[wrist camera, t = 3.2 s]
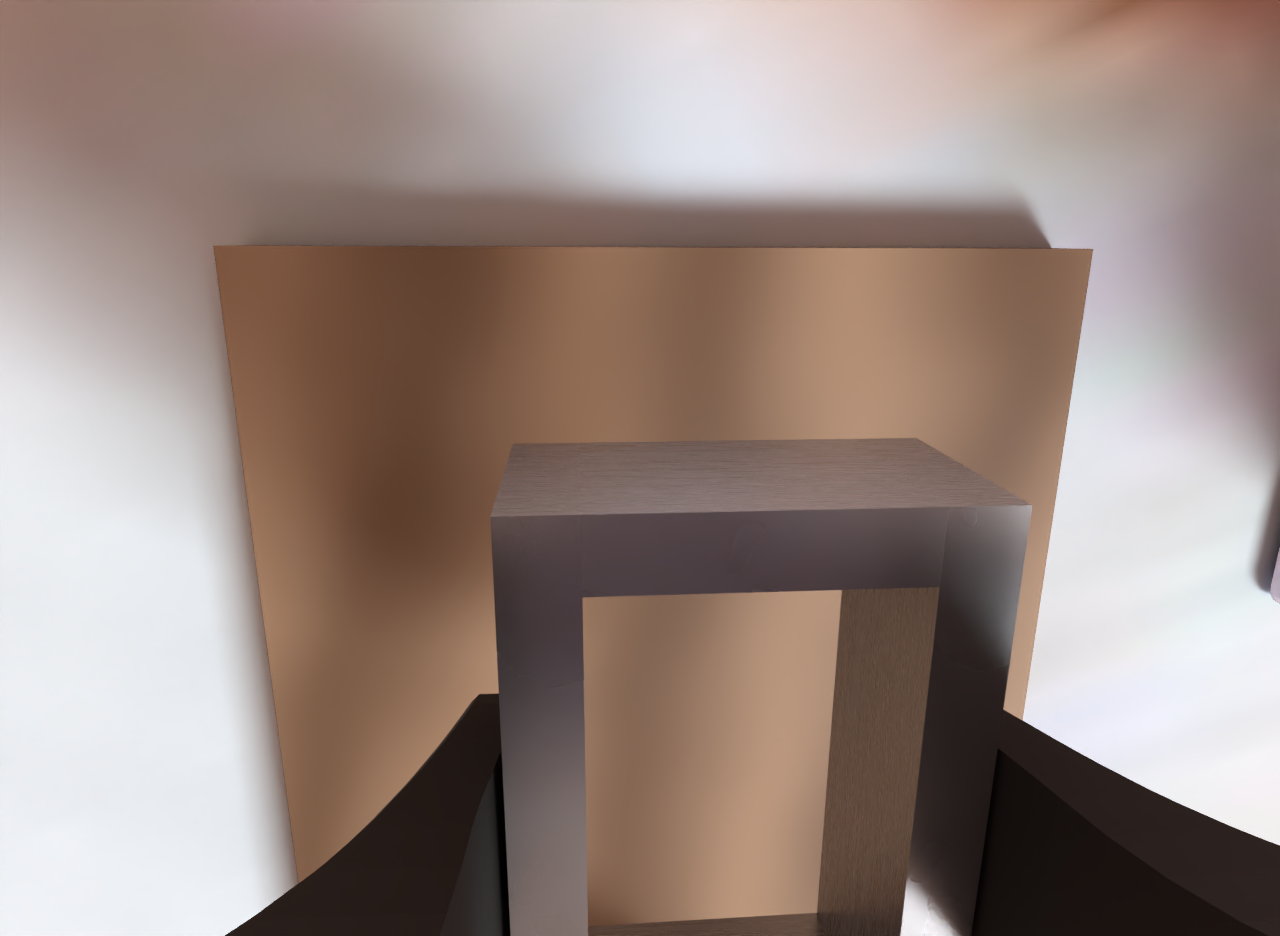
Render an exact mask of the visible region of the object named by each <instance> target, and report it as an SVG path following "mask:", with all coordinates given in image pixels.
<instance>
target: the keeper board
mask: <svg viewBox="0 0 1280 936" xmlns="http://www.w3.org/2000/svg"><path fill="white" fill-rule="evenodd" d="M1092 252H1093V249H1061V248H813V247H532V246H251V245H242V246H214V253H215V261H216V268H217V276H218V283H219V291H220V298H221V306H222V313H223V321H224V328H225V336H226V343H227V351H228V358H229V366H230V373H231V381H232V388H233V396H234V403H235V411H236V418H237V426H238V433H239V441H240V448H241V456H242V463H243V471H244V478H245V486H246V493H247V501H248V508H249V516H250V523H251V531H252V538H253V546H254V553H255V561H256V568H257V576H258V583H259V591H260V598H261V606H262V613H263V621H264V628H265V636H266V643H267V651H268V658H269V666H270V673H271V681H272V688H273V696H274V703H275V710H276V718H277V725H278V733H279V740H280V748H281V755H282V763H283V770H284V778H285V785H286V793H287V800H288V808H289V815H290V823H291V830H292V838H293V845H294V853H295V860H296V868H297V875H298V883H300V882H301V881H303V880H304V879H305V878H307V877H308V876H309V875H311V874H312V873H313V872H315V871H316V870H317V869H318V868H320V867H321V866H322V865H323V864H324V863H326V862H327V861H328V860H329V859H330V858H331V857H333V856H334V855H335V854H336V853H337V852H338V851H340V850H341V849H342V848H343V847H344V846H345V845H346V844H347V843H349V842H350V841H351V840H352V839H353V838H354V837H355V836H356V835H357V834H358V833H359V832H360V831H361V830H362V829H363V828H364V827H365V826H366V825H368V824H369V823H370V822H371V821H372V820H373V819H374V818H375V816H376V815H377V814H378V813H379V812H380V811H381V810H382V809H383V808H384V807H385V806H386V805H387V804H388V803H389V802H390V801H391V800H392V799H393V798H394V796H395V795H396V794H397V793H398V792H399V791H400V790H401V789H402V788H403V787H404V786H405V785H406V784H407V783H408V781H409V780H410V779H411V778H412V777H413V776H414V775H415V773H416V772H417V771H418V770H419V769H420V767H421V766H422V765H423V764H424V763H425V761H426V760H427V759H428V758H429V757H430V756H431V754H432V753H433V752H434V751H435V750H436V748H437V747H438V746H439V745H440V743H441V742H442V741H443V739H444V738H445V737H446V736H447V734H448V733H449V732H450V730H451V729H452V728H453V726H454V725H455V724H456V722H457V721H458V720H459V718H460V717H461V716H462V714H463V713H464V712H465V710H466V709H467V707H468V706H469V705H470V703H471V702H472V701H473V700H474V699H475V698H476V697H477V696H478V695H479V694H497V693H499V686H498V666H497V645H496V625H495V604H494V583H493V563H492V542H491V522H490V516H491V513H492V509H493V506H494V503H495V500H496V496H497V493H498V490H499V487H500V483H501V480H502V477H503V474H504V470H505V467H506V464H507V460H508V457H509V454H510V451H511V447H512V444H522V443H591V442H660V441H729V440H798V439H867V438H918V439H919V440H921V441H923V442H925V443H926V444H928V445H930V446H931V447H933V448H935V449H937V450H938V451H940V452H942V453H943V454H945V455H947V456H949V457H950V458H952V459H954V460H955V461H957V462H959V463H961V464H962V465H964V466H966V467H967V468H969V469H971V470H973V471H974V472H976V473H978V474H980V475H981V476H983V477H985V478H986V479H988V480H990V481H992V482H993V483H995V484H997V485H998V486H1000V487H1002V488H1004V489H1005V490H1007V491H1009V492H1010V493H1012V494H1014V495H1016V496H1017V497H1019V498H1021V499H1022V500H1024V501H1026V502H1028V503H1029V504H1031V505H1032V511H1031V518H1030V525H1029V532H1028V539H1027V546H1026V553H1025V560H1024V567H1023V574H1022V581H1021V588H1020V596H1019V603H1018V610H1017V617H1016V624H1015V631H1014V638H1013V645H1012V652H1011V659H1010V666H1009V673H1008V680H1007V687H1006V694H1005V701H1004V708H1003V709H1004V710H1005V711H1007V712H1009V713H1010V714H1012V715H1014V716H1016V717H1017V718H1019V719H1021V720H1023V713H1024V706H1025V700H1026V693H1027V686H1028V680H1029V673H1030V666H1031V659H1032V653H1033V646H1034V639H1035V633H1036V626H1037V619H1038V613H1039V606H1040V599H1041V593H1042V586H1043V579H1044V573H1045V566H1046V559H1047V553H1048V546H1049V539H1050V533H1051V526H1052V519H1053V513H1054V506H1055V499H1056V493H1057V486H1058V479H1059V473H1060V466H1061V459H1062V453H1063V446H1064V439H1065V433H1066V426H1067V419H1068V413H1069V406H1070V399H1071V393H1072V386H1073V379H1074V373H1075V366H1076V359H1077V353H1078V346H1079V339H1080V333H1081V326H1082V319H1083V313H1084V306H1085V299H1086V293H1087V286H1088V279H1089V272H1090V266H1091V259H1092ZM841 594H842V590H824V591H789V592H754V593H719V594H684V595H649V596H615V597H583V657H584V718H585V778H586V839H587V899H588V926H600V925H617V924H634V923H651V922H668V921H685V920H702V919H719V918H736V917H753V916H770V915H787V914H804V913H817V904H818V891H819V878H820V865H821V852H822V839H823V826H824V814H825V801H826V788H827V775H828V762H829V749H830V736H831V723H832V710H833V697H834V685H835V672H836V659H837V646H838V633H839V620H840V607H841Z"/></svg>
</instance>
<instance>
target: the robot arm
mask: <svg viewBox="0 0 1280 936" xmlns="http://www.w3.org/2000/svg"><path fill="white" fill-rule="evenodd" d="M1270 594H1271V596H1272V598H1273V600H1275V601H1276V602H1277V603H1279V604H1280V549H1279V553H1278V557H1277V562H1276V566H1275V570H1274V574H1273V579H1272V583H1271V590H1270ZM225 936H511V933H510V912H509V892H508V871H507V851H506V830H505V810H504V789H503V768H502V748H501V727H500V707H499V693H497V694H479V695H478V696H477V697H476V698H475V699H474V700H473V701H472V702H471V703H470V705H469V706H468V707H467V709H466V710H465V712H464V713H463V714H462V716H461V717H460V718H459V720H458V721H457V722H456V724H455V725H454V726H453V728H452V729H451V730H450V732H449V733H448V734H447V736H446V737H445V738H444V739H443V741H442V742H441V743H440V745H439V746H438V747H437V748H436V750H435V751H434V752H433V753H432V754H431V756H430V757H429V758H428V759H427V760H426V761H425V763H424V764H423V765H422V766H421V767H420V769H419V770H418V771H417V772H416V773H415V775H414V776H413V777H412V778H411V779H410V780H409V781H408V783H407V784H406V785H405V786H404V787H403V788H402V789H401V790H400V791H399V792H398V793H397V794H396V795H395V796H394V798H393V799H392V800H391V801H390V802H389V803H388V804H387V805H386V806H385V807H384V808H383V809H382V810H381V811H380V812H379V813H378V814H377V815H376V816H375V818H374V819H373V820H372V821H371V822H370V823H369V824H368V825H366V826H365V827H364V828H363V829H362V830H361V831H360V832H359V833H358V834H357V835H356V836H355V837H354V838H353V839H352V840H351V841H350V842H349V843H347V844H346V845H345V846H344V847H343V848H342V849H341V850H340V851H338V852H337V853H336V854H335V855H334V856H333V857H331V858H330V859H329V860H328V861H327V862H326V863H324V864H323V865H322V866H321V867H320V868H318V869H317V870H316V871H315V872H313V873H312V874H311V875H309V876H308V877H307V878H305V879H304V880H303V881H301V882H300V883H299V884H297V885H296V886H294V887H293V888H292V889H290V890H289V891H288V892H286V893H285V894H284V895H282V896H281V897H280V898H278V899H277V900H276V901H274V902H273V903H272V904H270V905H269V906H267V907H266V908H265V909H263V910H262V911H261V912H259V913H258V914H257V915H255V916H254V917H252V918H251V919H249V920H248V921H246V922H245V923H243V924H242V925H240V926H239V927H237V928H236V929H234V930H233V931H231V932H230V933H228V934H227V935H225ZM971 936H1280V846H1279V845H1277V844H1274V843H1271V842H1268V841H1266V840H1263V839H1261V838H1258V837H1256V836H1253V835H1251V834H1248V833H1246V832H1243V831H1241V830H1238V829H1236V828H1233V827H1231V826H1228V825H1226V824H1224V823H1222V822H1219V821H1217V820H1215V819H1213V818H1210V817H1208V816H1206V815H1203V814H1201V813H1199V812H1197V811H1194V810H1192V809H1190V808H1188V807H1185V806H1183V805H1181V804H1178V803H1176V802H1174V801H1172V800H1170V799H1168V798H1166V797H1164V796H1161V795H1159V794H1157V793H1155V792H1153V791H1151V790H1149V789H1147V788H1145V787H1143V786H1141V785H1139V784H1137V783H1135V782H1133V781H1131V780H1129V779H1127V778H1125V777H1123V776H1122V775H1120V774H1118V773H1116V772H1114V771H1112V770H1110V769H1108V768H1106V767H1104V766H1102V765H1100V764H1098V763H1097V762H1095V761H1093V760H1091V759H1089V758H1087V757H1086V756H1084V755H1082V754H1080V753H1078V752H1076V751H1075V750H1073V749H1071V748H1069V747H1068V746H1066V745H1064V744H1062V743H1060V742H1059V741H1057V740H1055V739H1053V738H1052V737H1050V736H1048V735H1046V734H1045V733H1043V732H1041V731H1040V730H1038V729H1036V728H1034V727H1033V726H1031V725H1029V724H1027V723H1026V722H1024V721H1022V720H1021V719H1019V718H1017V717H1016V716H1014V715H1012V714H1010V713H1009V712H1007V711H1005V710H1004V709H1003V715H1002V722H1001V729H1000V736H999V743H998V750H997V757H996V764H995V771H994V778H993V785H992V792H991V799H990V806H989V814H988V821H987V828H986V835H985V842H984V849H983V856H982V863H981V870H980V877H979V884H978V891H977V898H976V905H975V912H974V919H973V926H972V933H971Z"/></svg>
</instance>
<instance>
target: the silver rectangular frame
mask: <svg viewBox="0 0 1280 936" xmlns="http://www.w3.org/2000/svg"><path fill="white" fill-rule="evenodd" d="M1031 511H1032V505H1031V504H1029V503H1028V502H1026V501H1024V500H1022V499H1021V498H1019V497H1017V496H1016V495H1014V494H1012V493H1010V492H1009V491H1007V490H1005V489H1004V488H1002V487H1000V486H998V485H997V484H995V483H993V482H992V481H990V480H988V479H986V478H985V477H983V476H981V475H980V474H978V473H976V472H974V471H973V470H971V469H969V468H967V467H966V466H964V465H962V464H961V463H959V462H957V461H955V460H954V459H952V458H950V457H949V456H947V455H945V454H943V453H942V452H940V451H938V450H937V449H935V448H933V447H931V446H930V445H928V444H926V443H925V442H923V441H921V440H919V439H918V438H867V439H798V440H729V441H660V442H591V443H522V444H512V447H511V451H510V454H509V457H508V460H507V464H506V467H505V470H504V474H503V477H502V480H501V483H500V487H499V490H498V493H497V496H496V500H495V503H494V506H493V509H492V513H491V516H490V522H491V542H492V563H493V583H494V604H495V625H496V645H497V666H498V686H499V707H500V727H501V748H502V768H503V789H504V810H505V830H506V851H507V871H508V892H509V912H510V933H511V936H971V933H972V926H973V919H974V912H975V905H976V898H977V891H978V884H979V877H980V870H981V863H982V856H983V849H984V842H985V835H986V828H987V821H988V814H989V806H990V799H991V792H992V785H993V778H994V771H995V764H996V757H997V750H998V743H999V736H1000V729H1001V722H1002V715H1003V708H1004V701H1005V694H1006V687H1007V680H1008V673H1009V666H1010V659H1011V652H1012V645H1013V638H1014V631H1015V624H1016V617H1017V610H1018V603H1019V596H1020V588H1021V581H1022V574H1023V567H1024V560H1025V553H1026V546H1027V539H1028V532H1029V525H1030V518H1031ZM824 590H842V594H841V607H840V620H839V633H838V646H837V659H836V672H835V685H834V697H833V710H832V723H831V736H830V749H829V762H828V775H827V788H826V801H825V814H824V826H823V839H822V852H821V865H820V878H819V891H818V904H817V913H804V914H787V915H770V916H753V917H736V918H719V919H702V920H685V921H668V922H651V923H634V924H617V925H600V926H588V899H587V839H586V778H585V718H584V657H583V597H615V596H649V595H684V594H719V593H754V592H789V591H824Z"/></svg>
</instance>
